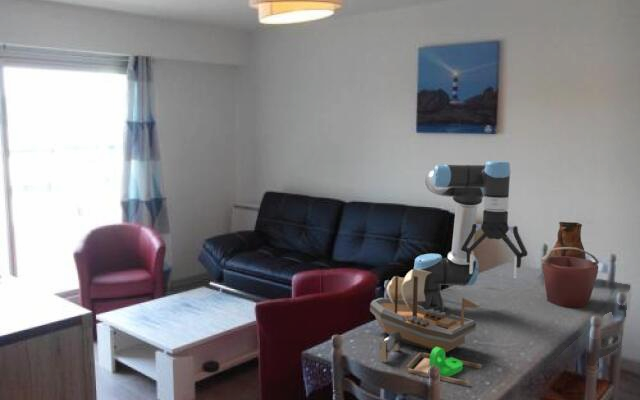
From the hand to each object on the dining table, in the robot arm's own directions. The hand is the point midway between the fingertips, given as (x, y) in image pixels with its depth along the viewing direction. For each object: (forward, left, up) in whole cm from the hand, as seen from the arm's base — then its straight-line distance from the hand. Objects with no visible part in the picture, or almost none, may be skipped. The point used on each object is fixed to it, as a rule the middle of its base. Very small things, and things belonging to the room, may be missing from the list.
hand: (492, 275), depth 185 cm
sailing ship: (-27, +11, -32) cm, 43 cm away
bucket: (+14, +91, -32) cm, 97 cm away
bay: (-13, -7, -32) cm, 35 cm away
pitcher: (+10, +126, -32) cm, 130 cm away
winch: (-32, -5, -32) cm, 46 cm away
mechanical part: (-11, -7, -32) cm, 35 cm away
